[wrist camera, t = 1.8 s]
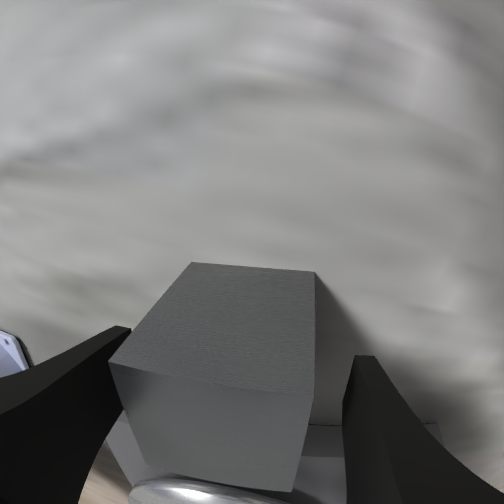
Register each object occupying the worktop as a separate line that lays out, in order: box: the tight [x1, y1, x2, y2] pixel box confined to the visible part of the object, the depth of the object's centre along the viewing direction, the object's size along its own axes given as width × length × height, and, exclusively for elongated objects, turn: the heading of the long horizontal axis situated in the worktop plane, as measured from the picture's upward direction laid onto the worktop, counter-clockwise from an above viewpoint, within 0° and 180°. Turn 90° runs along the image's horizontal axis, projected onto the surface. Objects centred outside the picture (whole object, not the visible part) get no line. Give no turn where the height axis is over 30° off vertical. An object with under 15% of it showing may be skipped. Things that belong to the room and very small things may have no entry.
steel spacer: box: [108, 262, 315, 492], centre depth 10 cm, size 4×4×6 cm
